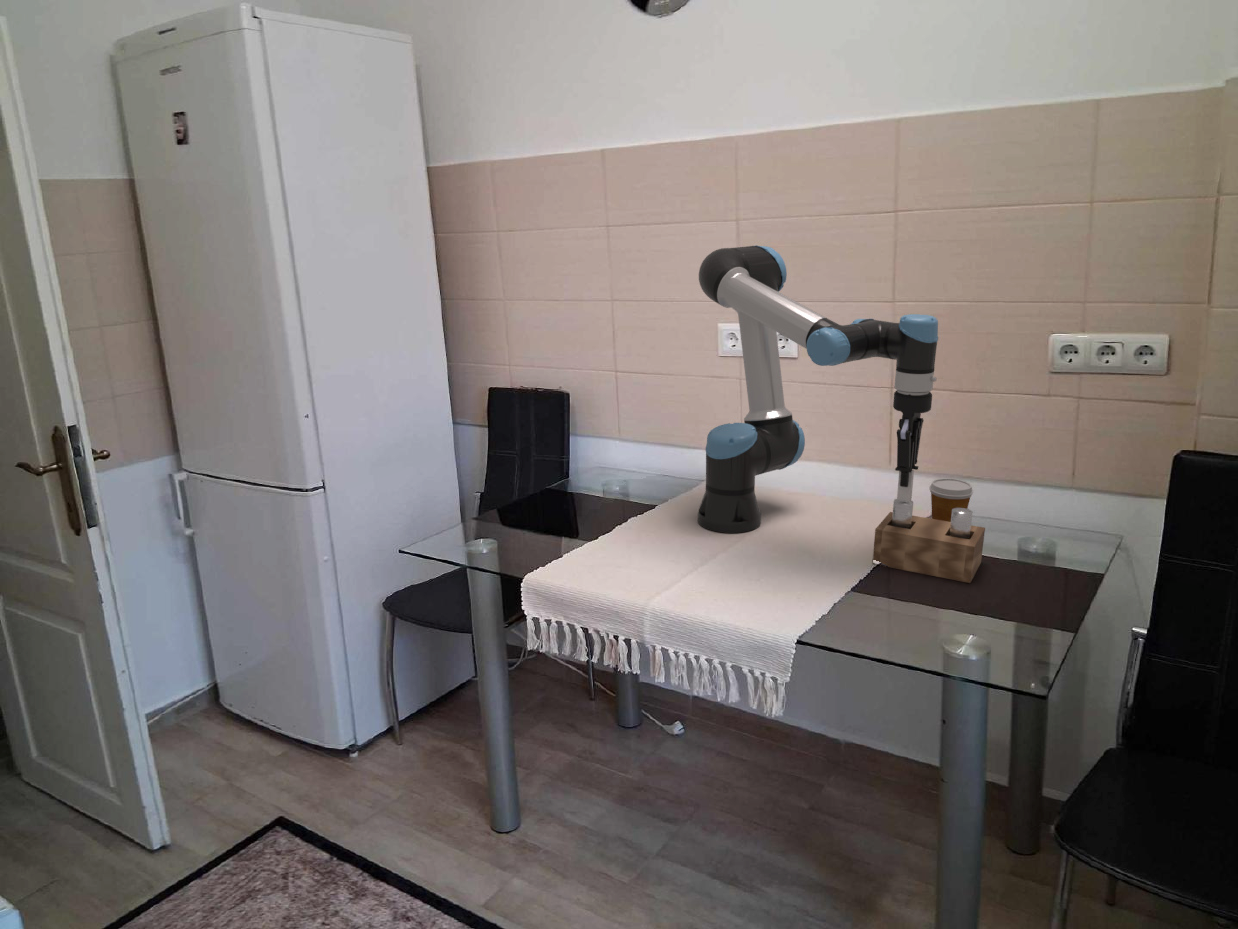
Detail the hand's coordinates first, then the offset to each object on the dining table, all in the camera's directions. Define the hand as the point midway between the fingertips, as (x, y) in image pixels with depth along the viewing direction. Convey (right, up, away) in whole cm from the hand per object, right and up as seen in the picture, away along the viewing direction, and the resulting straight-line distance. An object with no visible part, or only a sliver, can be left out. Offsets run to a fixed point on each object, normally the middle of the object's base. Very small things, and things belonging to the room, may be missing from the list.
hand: (904, 499), depth 194 cm
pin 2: (+10, -10, -3) cm, 15 cm away
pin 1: (0, -8, +3) cm, 9 cm away
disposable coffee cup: (+15, -9, +18) cm, 25 cm away
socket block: (+5, -14, +1) cm, 15 cm away
